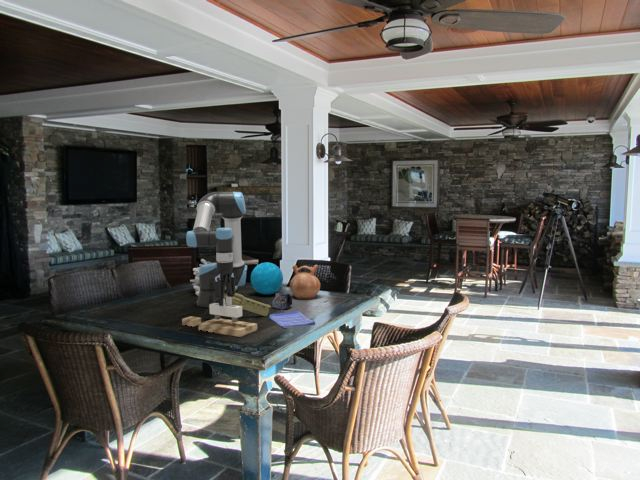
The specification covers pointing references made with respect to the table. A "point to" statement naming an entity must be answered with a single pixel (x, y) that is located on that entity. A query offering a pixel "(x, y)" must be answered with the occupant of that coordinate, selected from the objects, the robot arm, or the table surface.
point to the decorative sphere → (266, 278)
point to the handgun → (244, 305)
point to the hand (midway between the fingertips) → (225, 311)
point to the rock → (282, 301)
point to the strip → (226, 311)
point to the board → (228, 327)
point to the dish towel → (291, 319)
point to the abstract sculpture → (196, 272)
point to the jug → (304, 283)
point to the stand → (191, 321)
